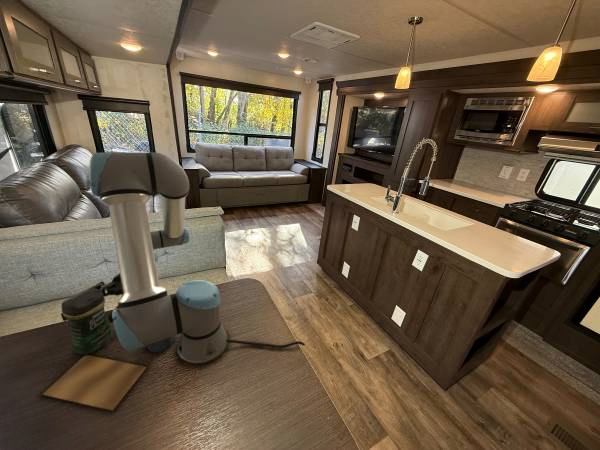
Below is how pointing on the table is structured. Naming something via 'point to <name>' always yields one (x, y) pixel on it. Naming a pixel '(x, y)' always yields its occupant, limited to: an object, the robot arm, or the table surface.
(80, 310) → the coffee jar
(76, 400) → the cork mat
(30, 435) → the table surface
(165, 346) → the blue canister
